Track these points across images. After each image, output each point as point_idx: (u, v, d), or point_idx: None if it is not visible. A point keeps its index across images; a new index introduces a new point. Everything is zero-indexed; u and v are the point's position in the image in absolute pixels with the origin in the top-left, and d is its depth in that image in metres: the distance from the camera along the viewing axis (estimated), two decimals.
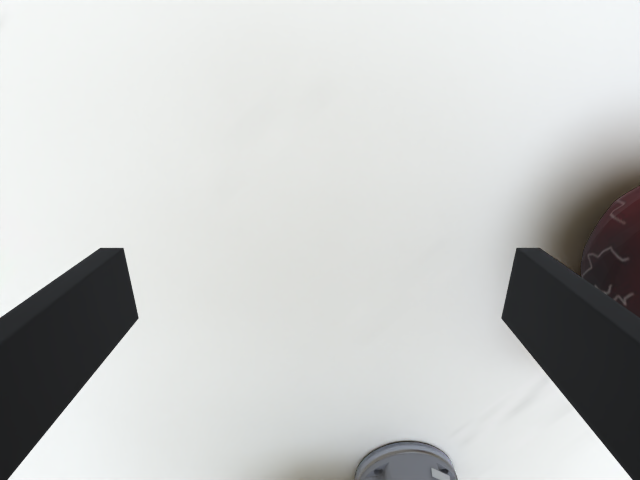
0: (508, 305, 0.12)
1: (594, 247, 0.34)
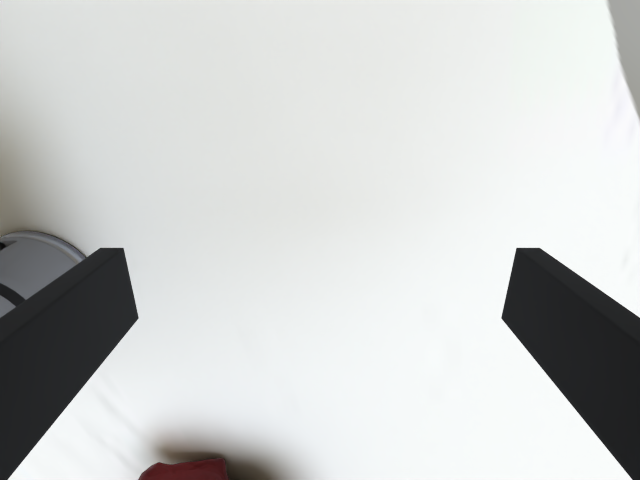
0: (508, 305, 0.12)
1: None
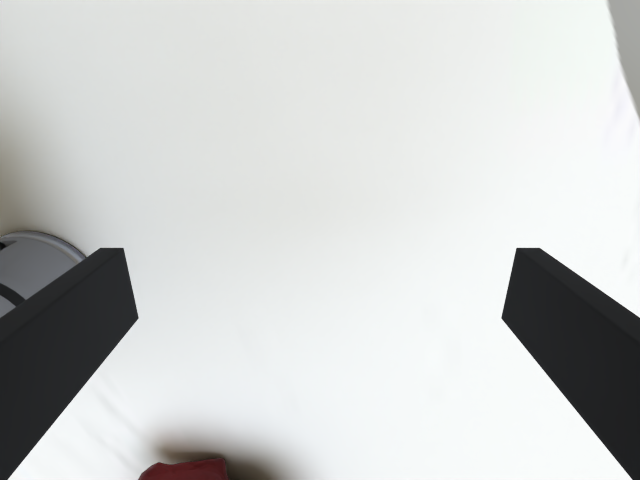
0: (508, 305, 0.12)
1: None
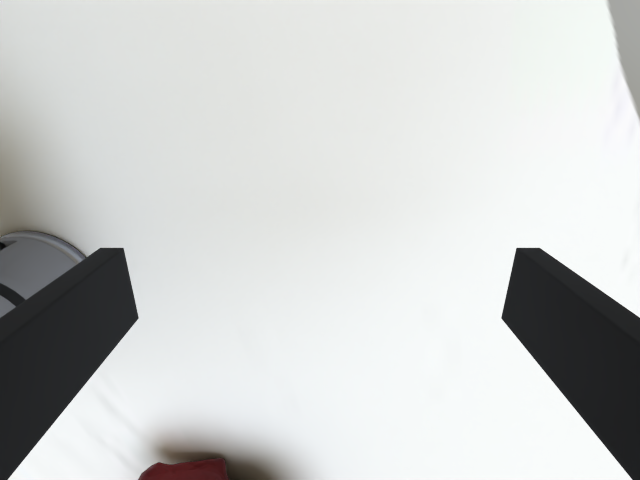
0: (508, 305, 0.12)
1: None
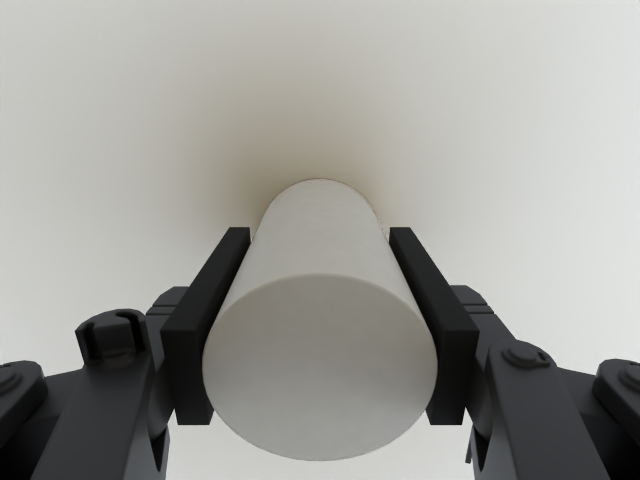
0: None
1: None
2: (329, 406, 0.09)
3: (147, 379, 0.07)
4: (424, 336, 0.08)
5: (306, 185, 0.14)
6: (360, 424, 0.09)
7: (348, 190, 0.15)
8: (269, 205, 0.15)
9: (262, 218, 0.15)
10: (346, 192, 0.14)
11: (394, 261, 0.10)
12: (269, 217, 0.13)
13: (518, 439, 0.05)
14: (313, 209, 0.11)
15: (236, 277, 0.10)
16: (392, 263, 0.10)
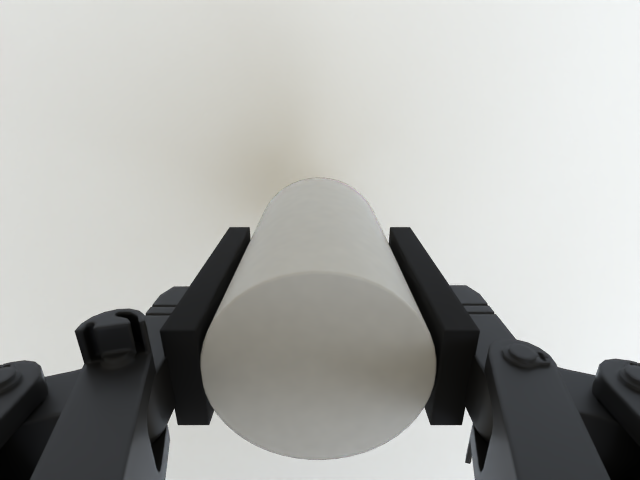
0: None
1: None
2: (328, 404, 0.08)
3: (147, 379, 0.07)
4: (422, 334, 0.08)
5: (305, 184, 0.14)
6: (359, 423, 0.09)
7: (347, 189, 0.15)
8: (268, 204, 0.15)
9: (261, 217, 0.15)
10: (345, 191, 0.14)
11: (393, 259, 0.10)
12: (268, 216, 0.13)
13: (518, 439, 0.05)
14: (312, 207, 0.11)
15: (234, 275, 0.09)
16: (391, 261, 0.09)
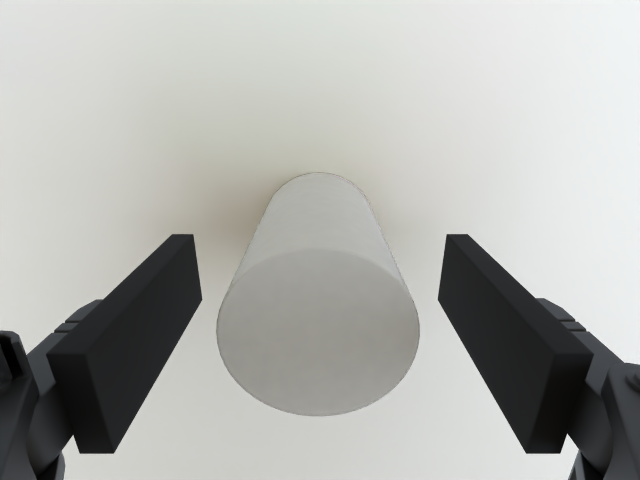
0: (441, 287, 0.14)
1: None
2: (326, 365, 0.10)
3: (26, 404, 0.06)
4: (407, 302, 0.09)
5: (306, 178, 0.16)
6: (353, 382, 0.10)
7: (345, 183, 0.16)
8: (272, 197, 0.17)
9: (266, 209, 0.16)
10: (343, 184, 0.15)
11: (384, 243, 0.11)
12: (273, 206, 0.14)
13: None
14: (312, 198, 0.13)
15: (245, 256, 0.11)
16: (382, 243, 0.11)
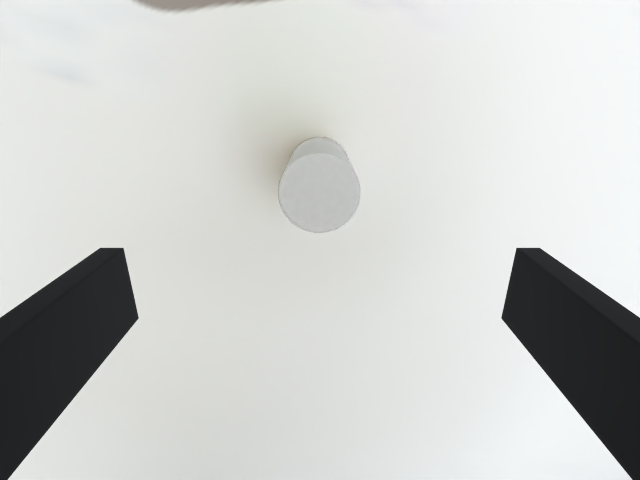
0: (508, 305, 0.12)
1: None
2: (322, 206, 0.24)
3: None
4: (354, 176, 0.23)
5: (312, 139, 0.30)
6: (334, 214, 0.24)
7: (333, 141, 0.30)
8: (294, 150, 0.31)
9: (291, 156, 0.30)
10: (332, 141, 0.29)
11: (348, 161, 0.25)
12: (296, 150, 0.28)
13: None
14: (316, 143, 0.27)
15: (287, 165, 0.25)
16: (347, 159, 0.25)
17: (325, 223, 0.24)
